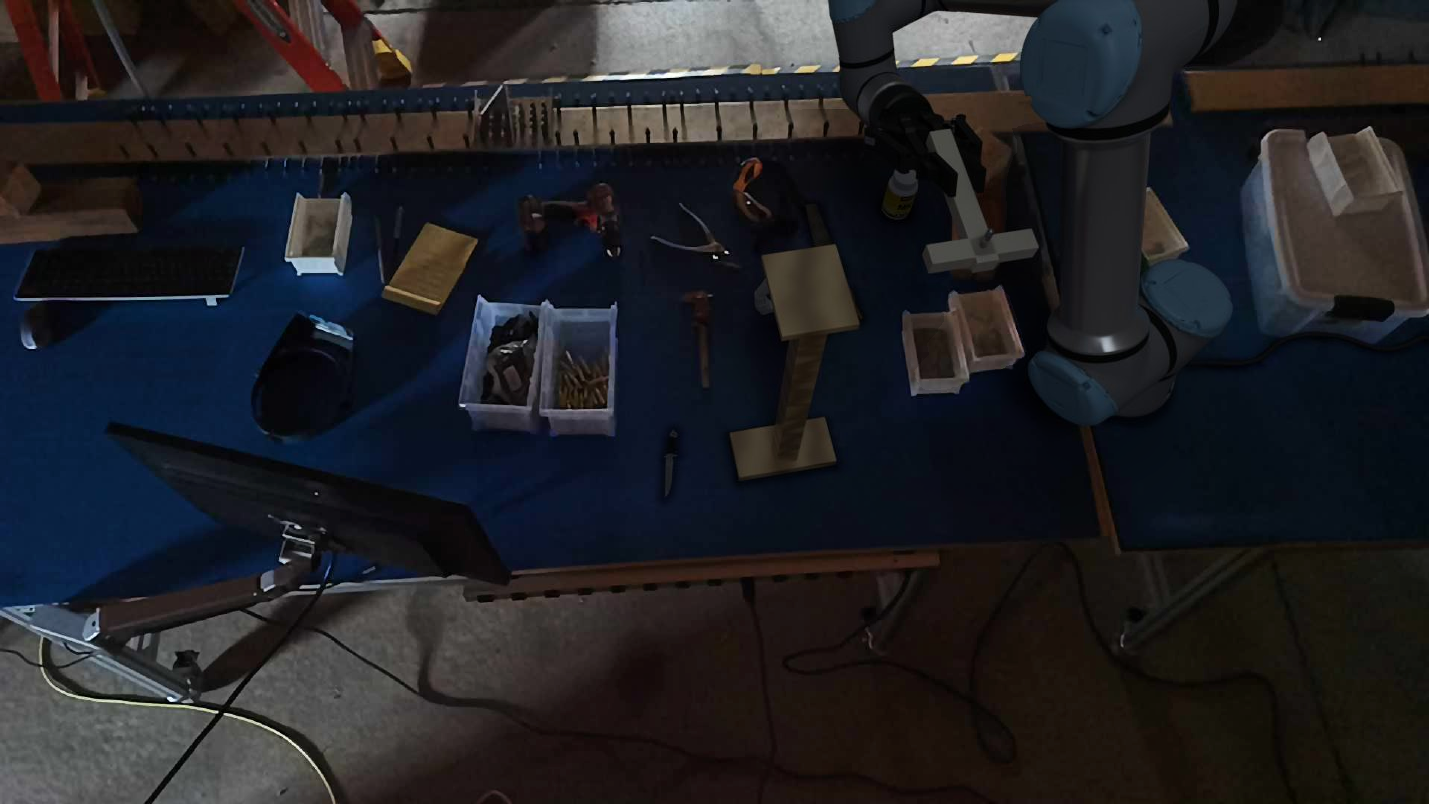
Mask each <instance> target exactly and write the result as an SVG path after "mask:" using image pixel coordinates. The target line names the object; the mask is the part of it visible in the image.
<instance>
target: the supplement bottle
mask: <svg viewBox="0 0 1429 804" xmlns="http://www.w3.org/2000/svg"><path fill="white" fill-rule="evenodd" d="M918 190H919V180H917V179H916V172H915V170H910V172H909V173H908V174H901V173H899V172H898V171H897V170H895V169H894V171H893V175H892V176H891V177H890V178H889V180H888V182H887V187H886V189H885V193H884V197H883V200H882V204H881V210H882V213H883V214H884V215H885V216H886V217H887V218H889V219H892V220H898V221H899V220H903V219H906V217H908V216H909V214H910V212H911V211H912V210H911V209H912V207H913V205H914V202H915V198H916V195H917V192H918Z"/></svg>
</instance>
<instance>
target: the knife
mask: <svg viewBox="0 0 1429 804" xmlns="http://www.w3.org/2000/svg"><path fill="white" fill-rule="evenodd" d="M677 437H678V433H677V432H676V431H675V430H674V429H672V430H671V432H670V434H669V437H668V440H667V448H666V455H665V456H663V457H664V459H665V458H666V459H665V470H664V471H665V473H664V475H665V476H664V477H665V478H664V481H665V482H664V498H666V497H667V496H668V495H669V492H670V490H671V485H672V477H673V466H674V459H673V458H675V457H678V454H674V451H675V450H676V451H677V450H678V448H675V445H676V438H677Z"/></svg>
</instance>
